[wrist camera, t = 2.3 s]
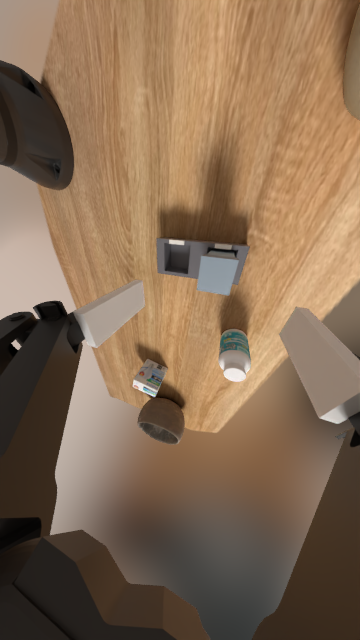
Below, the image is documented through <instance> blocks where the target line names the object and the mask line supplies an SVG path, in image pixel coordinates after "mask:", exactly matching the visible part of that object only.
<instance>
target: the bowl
mask: <svg viewBox="0 0 360 640" xmlns="http://www.w3.org/2000/svg"><path fill="white" fill-rule="evenodd" d="M184 425H185V422H184V416H183V413H182V410H181V409H180V407H179V406H178V405H177V404H175V403H174V402H172V401H171V400H168V399H164V398H153V399H150V400H149V401H148V402H147V403H146V404H145V405H144V406H143V408H142V410H141V412H140V415H139V418H138V427H140V428H141V429H142V430H143V431H144V432H145V433H146V434H148V435H149V436H150V437H152V438H154V439H156V440H158V441H160V442H163V443H167V444H178V443H179V441H180V440H181V437H182V435H183V431H184Z"/></svg>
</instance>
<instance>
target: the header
mask: <svg viewBox="0 0 360 640" xmlns="http://www.w3.org/2000/svg"><path fill="white" fill-rule="evenodd" d="M249 247H250V246H248V245H247V244H237V243H226V242H214V241H203V240H191V239H180V238H168V237H164V238H157V265H158V273H161V274H168V275H175V276H181V277H188V278H195V279H198V277H199V269H200V262H201V256H202V255H203V254H208V253H209V252H210V251H211V250H212V249H221V250H231V251H234V255H235V257H236V258H238V259H239V262H238V265H237V269H236V272H235V276H234V279H233V283H232V284H235V285H238V283H239V279H240V276H241V273H242V270H243V266H244V263H245V260H246V257H247V254H248V250H249Z"/></svg>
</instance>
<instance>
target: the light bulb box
mask: <svg viewBox="0 0 360 640" xmlns="http://www.w3.org/2000/svg"><path fill="white" fill-rule="evenodd" d="M167 370H168V368H166V367H164V366H162V365H160V364H158V363H156V362H153V361H151V360H149V359H147V360H146V361H145V363H144V364H143V366H142V367H141V369H140V371H139V372H138V374H137V375H136V377H135V378H134V381H133V387H134V388H136V389H138V390H141V391H143V392H145V393H147V394H149V395H151V396H153V397H155V396H156V394H157V392H158V390H159V388H160V386H161V383H162V381H163V379H164V377H165V375H166V372H167Z"/></svg>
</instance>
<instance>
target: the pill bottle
mask: <svg viewBox="0 0 360 640" xmlns="http://www.w3.org/2000/svg"><path fill="white" fill-rule="evenodd" d="M219 365H220V367H221V368H222V369H223V370H224V376H225V377H226V378H227V379H228V380H231V381H234V382H240V381H243V380H244V379H245V378H246V372H248V371H249V369H250V367H251V359H250V353H249V346H248V339H247V336H246V334H245V333H244V332H243V331H241V330H239V329H228V330H226V331H224V332H223V334H222V335H221V341H220V351H219Z"/></svg>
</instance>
